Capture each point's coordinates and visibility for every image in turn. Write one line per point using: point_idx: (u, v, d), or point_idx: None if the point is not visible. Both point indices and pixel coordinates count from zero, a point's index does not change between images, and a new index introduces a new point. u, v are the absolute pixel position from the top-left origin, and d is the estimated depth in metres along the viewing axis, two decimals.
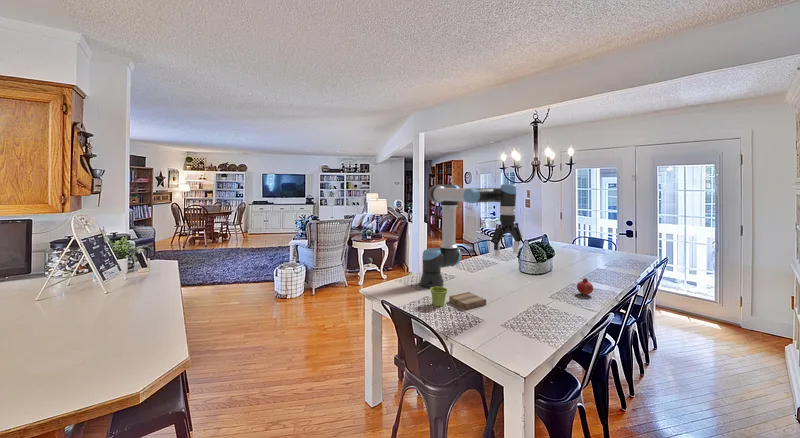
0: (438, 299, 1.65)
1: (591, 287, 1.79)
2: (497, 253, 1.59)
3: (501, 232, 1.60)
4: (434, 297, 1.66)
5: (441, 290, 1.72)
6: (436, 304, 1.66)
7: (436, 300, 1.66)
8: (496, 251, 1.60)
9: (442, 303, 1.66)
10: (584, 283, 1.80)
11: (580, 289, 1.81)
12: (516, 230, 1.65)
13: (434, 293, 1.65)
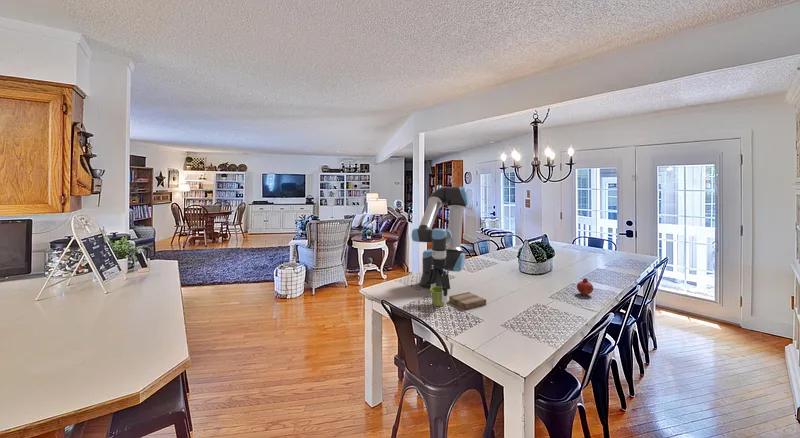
0: (438, 299, 1.65)
1: (591, 287, 1.79)
2: None
3: None
4: (434, 297, 1.66)
5: (441, 289, 1.72)
6: (436, 304, 1.66)
7: (436, 300, 1.66)
8: None
9: (442, 303, 1.66)
10: (584, 283, 1.80)
11: (580, 289, 1.81)
12: None
13: (434, 293, 1.65)
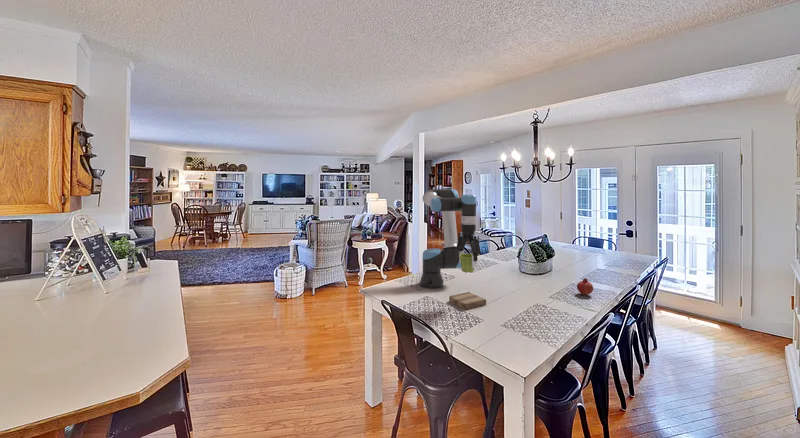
0: (467, 265, 1.65)
1: (591, 287, 1.79)
2: None
3: None
4: (463, 263, 1.66)
5: (469, 257, 1.72)
6: (465, 270, 1.66)
7: (465, 266, 1.66)
8: None
9: (471, 269, 1.66)
10: (584, 283, 1.80)
11: (580, 289, 1.81)
12: None
13: (464, 259, 1.65)
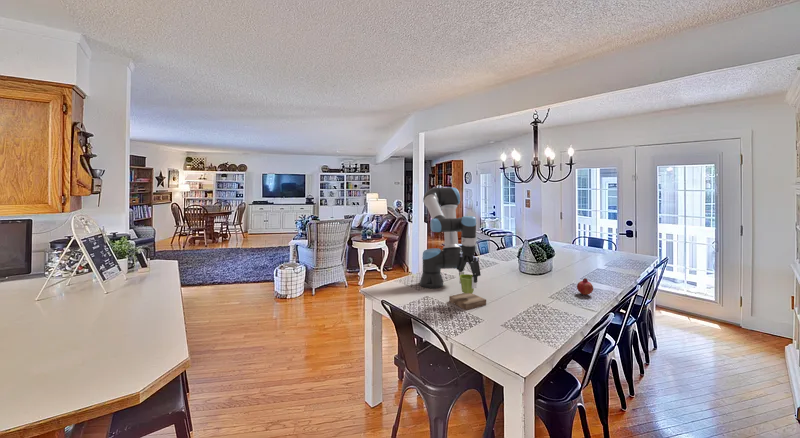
0: (467, 286, 1.66)
1: (591, 287, 1.79)
2: None
3: None
4: (463, 284, 1.67)
5: (469, 277, 1.73)
6: (466, 291, 1.67)
7: (465, 287, 1.67)
8: None
9: (471, 290, 1.67)
10: (584, 283, 1.80)
11: (580, 289, 1.81)
12: None
13: (464, 280, 1.66)
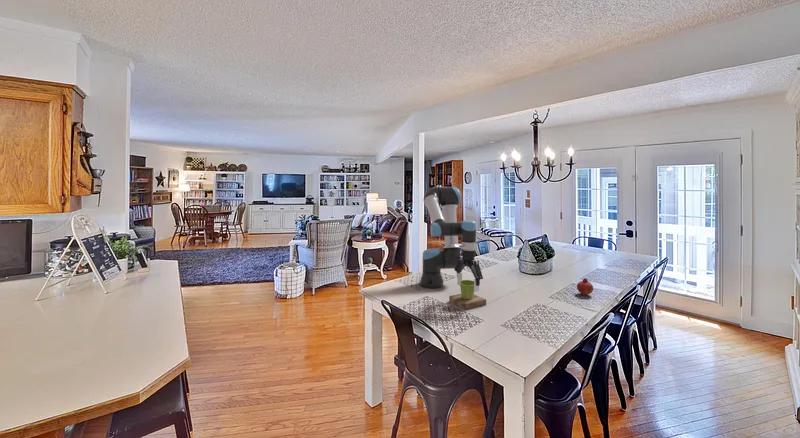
0: (467, 292, 1.66)
1: (591, 287, 1.79)
2: None
3: None
4: (463, 290, 1.68)
5: (469, 283, 1.73)
6: (465, 297, 1.68)
7: (465, 294, 1.67)
8: None
9: (471, 296, 1.68)
10: (584, 283, 1.80)
11: (580, 289, 1.81)
12: None
13: (464, 286, 1.66)
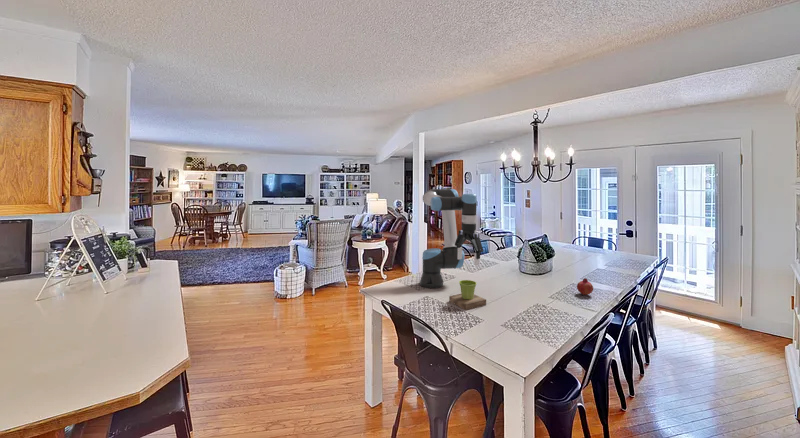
0: (467, 292, 1.67)
1: (591, 287, 1.79)
2: None
3: None
4: (463, 290, 1.68)
5: (469, 283, 1.73)
6: (465, 297, 1.68)
7: (465, 293, 1.67)
8: None
9: (471, 296, 1.68)
10: (584, 283, 1.80)
11: (580, 289, 1.81)
12: None
13: (463, 286, 1.67)
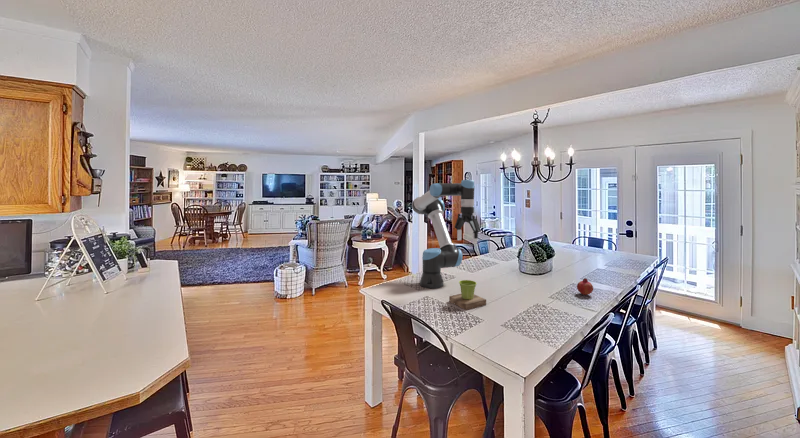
0: (467, 292, 1.67)
1: (591, 287, 1.79)
2: None
3: None
4: (463, 290, 1.68)
5: (469, 283, 1.73)
6: (465, 297, 1.68)
7: (465, 293, 1.67)
8: None
9: (471, 296, 1.68)
10: (584, 283, 1.80)
11: (580, 289, 1.81)
12: None
13: (463, 286, 1.67)
